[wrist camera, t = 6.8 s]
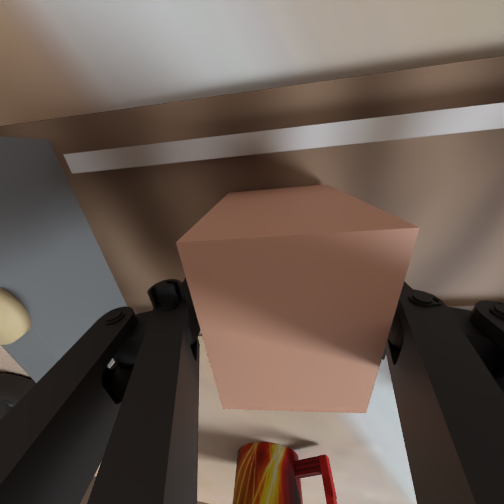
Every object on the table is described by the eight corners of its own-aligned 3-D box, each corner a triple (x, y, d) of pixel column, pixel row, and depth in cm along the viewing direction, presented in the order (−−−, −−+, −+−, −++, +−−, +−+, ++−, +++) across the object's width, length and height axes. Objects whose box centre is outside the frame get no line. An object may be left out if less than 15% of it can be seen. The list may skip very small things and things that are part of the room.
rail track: (116, 328, 21) (97, 349, 18) (8, 129, 13) (-46, 124, 11) (610, 322, 16) (666, 349, 14) (905, 6, 8) (1143, -50, 6)
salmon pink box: (243, 294, 16) (222, 408, 9) (229, 192, 12) (175, 242, 5) (319, 292, 15) (366, 413, 8) (326, 184, 12) (419, 227, 5)
